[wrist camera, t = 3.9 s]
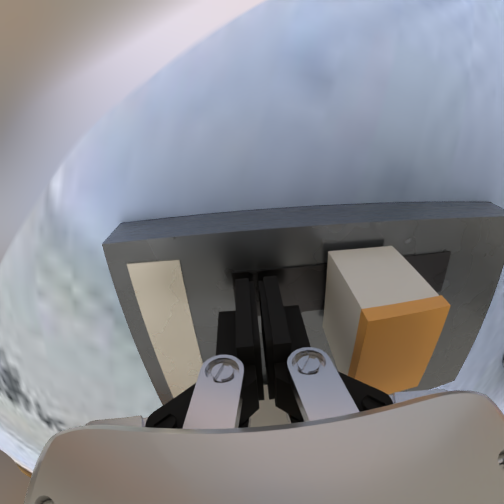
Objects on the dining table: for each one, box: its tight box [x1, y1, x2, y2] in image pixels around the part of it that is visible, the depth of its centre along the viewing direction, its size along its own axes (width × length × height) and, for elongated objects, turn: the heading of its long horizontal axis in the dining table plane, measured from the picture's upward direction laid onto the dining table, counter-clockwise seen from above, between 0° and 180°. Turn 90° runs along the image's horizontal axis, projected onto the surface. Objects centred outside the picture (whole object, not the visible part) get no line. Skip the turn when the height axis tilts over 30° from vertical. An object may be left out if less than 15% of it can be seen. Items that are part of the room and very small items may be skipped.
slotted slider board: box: [102, 202, 504, 405], centre depth 16 cm, size 22×14×3 cm, turn 94°
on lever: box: [250, 385, 289, 427], centre depth 15 cm, size 3×4×4 cm
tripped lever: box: [322, 246, 451, 394], centre depth 11 cm, size 3×4×5 cm
